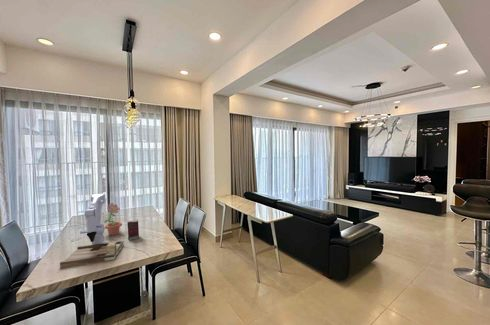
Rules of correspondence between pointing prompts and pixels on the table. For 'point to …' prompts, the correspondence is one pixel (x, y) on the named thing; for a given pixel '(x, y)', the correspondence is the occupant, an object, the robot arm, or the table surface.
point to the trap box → (91, 254)
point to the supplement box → (133, 229)
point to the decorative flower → (114, 226)
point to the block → (111, 247)
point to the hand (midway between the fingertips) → (92, 241)
